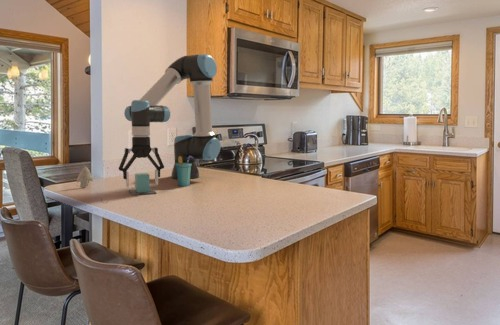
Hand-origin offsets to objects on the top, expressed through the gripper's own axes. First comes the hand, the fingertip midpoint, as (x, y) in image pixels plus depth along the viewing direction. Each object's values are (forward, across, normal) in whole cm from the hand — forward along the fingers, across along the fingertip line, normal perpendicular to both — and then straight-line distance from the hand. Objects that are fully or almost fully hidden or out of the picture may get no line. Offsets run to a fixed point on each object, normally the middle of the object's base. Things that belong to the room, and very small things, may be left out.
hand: (142, 185), depth 172 cm
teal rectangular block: (+3, 0, 0) cm, 3 cm away
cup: (+3, -22, -9) cm, 24 cm away
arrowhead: (+3, +22, -22) cm, 31 cm away
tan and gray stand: (+3, 0, 0) cm, 3 cm away
